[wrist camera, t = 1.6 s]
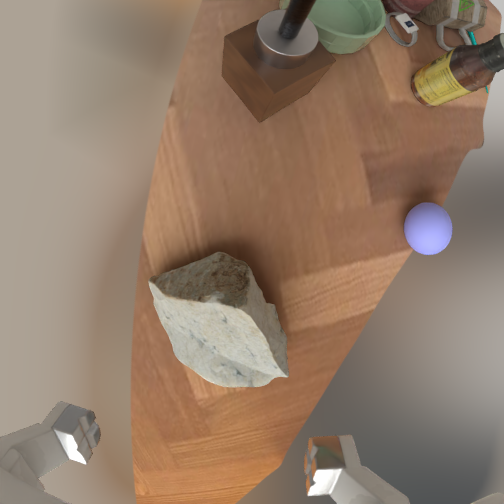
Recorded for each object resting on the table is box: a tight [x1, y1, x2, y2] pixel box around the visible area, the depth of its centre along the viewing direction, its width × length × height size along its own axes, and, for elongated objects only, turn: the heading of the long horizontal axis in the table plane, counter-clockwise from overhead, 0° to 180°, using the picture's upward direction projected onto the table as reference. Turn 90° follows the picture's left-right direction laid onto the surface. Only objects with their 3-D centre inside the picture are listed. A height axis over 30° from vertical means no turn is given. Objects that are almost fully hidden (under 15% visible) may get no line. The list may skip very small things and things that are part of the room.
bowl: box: [279, 0, 386, 54], centre depth 31 cm, size 14×14×6 cm
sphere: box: [404, 203, 452, 255], centre depth 36 cm, size 7×7×7 cm
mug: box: [414, 0, 487, 51], centre depth 32 cm, size 16×11×12 cm
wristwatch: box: [385, 12, 419, 47], centre depth 33 cm, size 6×3×5 cm, turn 36°
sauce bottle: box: [411, 33, 504, 107], centre depth 27 cm, size 7×6×20 cm
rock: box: [148, 252, 289, 387], centre depth 35 cm, size 15×16×8 cm
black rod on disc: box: [253, 0, 318, 69], centre depth 17 cm, size 6×6×16 cm
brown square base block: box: [222, 8, 336, 123], centre depth 30 cm, size 8×8×10 cm
